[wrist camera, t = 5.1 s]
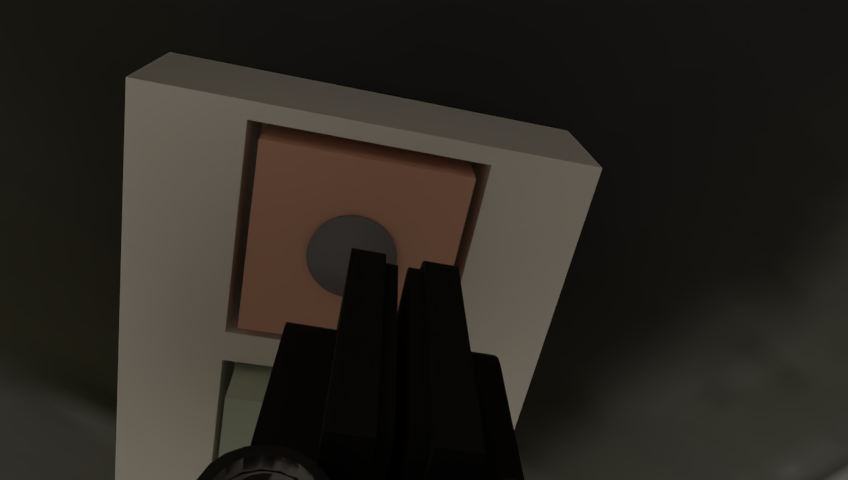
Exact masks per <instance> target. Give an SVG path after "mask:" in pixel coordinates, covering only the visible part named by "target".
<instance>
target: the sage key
mask: <svg viewBox="0 0 848 480" xmlns="http://www.w3.org/2000/svg"><path fill="white" fill-rule="evenodd" d="M272 368H273V367H271V366H263V365H256V364H249V363H241V362H237V364H236V367H235V370H234V372H233V375H232V378H231V381H230V384H229V387H228V390H227V393H226V396H225V402H224V411H223V420H222V429H221V439H220V448H219V457H221V456H222V455H224V454H225V453H227V452H230V451H233V450H236V449H239V448H242V447H245V446H250V445H251V441H252V438H253V434H254V431H255V427H256V424H257V420H258V417H259V413H260V410H261V406H262V403H263V399H264V396H265V392H266V389H267V385H268V382H269V378H270V375H271V371H272ZM219 457H218V458H219Z"/></svg>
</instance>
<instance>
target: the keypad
mask: <svg viewBox="0 0 848 480" xmlns="http://www.w3.org/2000/svg"><path fill="white" fill-rule="evenodd" d="M267 124H274V125H279V126H284V127H290V128H295V129H300V130H306V131H311V132H316V133H322V134H327V135H332V136H338V137H343V138H348V139H354V140H359V141H364V142H370V143H375V144H380V145H386V146H391V147H396V148H402V149H407V150H413V151H418V152H423V153H429V154H434V155H439V156H445V157H450V158H455V159H461V160H466V161H470V164H471V166H472V169H473V172H474V174H475V177H476V182H475V186H474V189H473V193H472V197H471V201H470V205H469V209H468V213H467V217H466V221H465V225H464V228H463V232H462V236H461V240H460V244H459V248H458V252H457V256H456V260H455V263H454V266H457V267H458V268H459V273H460V280H461V287H462V294H463V301H464V307H465V314H466V321H467V328H468V335H469V342H470V348H471V351H472V352H478V353H484V354H490V355H495V356H497V357H498V359H499V362H500V365H501V370H502V375H503V379H504V384H505V389H506V394H507V399H508V404H509V409H510V413H511V418H512V423H513V428H514V429H515V426H516V423H517V420H518V417H519V414H520V411H521V408H522V405H523V402H524V399H525V397H526V394H527V391H528V388H529V385H530V382H531V379H532V376H533V373H534V370H535V367H536V364H537V361H538V358H539V355H540V352H541V349H542V346H543V343H544V340H545V337H546V334H547V331H548V328H549V325H550V322H551V319H552V316H553V313H554V310H555V307H556V304H557V301H558V298H559V295H560V292H561V290H562V287H563V284H564V281H565V278H566V275H567V272H568V269H569V266H570V263H571V260H572V257H573V254H574V251H575V248H576V245H577V242H578V239H579V236H580V233H581V230H582V227H583V224H584V221H585V218H586V215H587V212H588V209H589V206H590V203H591V200H592V197H593V194H594V191H595V188H596V186H597V183H598V180H599V177H600V174H601V171H602V167H601V166H600V165H599V164H598V163H597V162H596V161H595V159H594V158H593V157H592V156H591V155H590V154H589V153H588V152H587V151H586V150H585V149H584V148H583V147H582V145H581V144H580V143H579V142H578V141H577V140H576V139H575V138H574V137H573V136H572V135H571V134H570V132H569V131H568V130H562V129H557V128H552V127H547V126H542V125H537V124H532V123H527V122H522V121H517V120H512V119H507V118H502V117H497V116H492V115H487V114H482V113H476V112H471V111H466V110H461V109H456V108H451V107H446V106H441V105H436V104H431V103H426V102H421V101H416V100H411V99H406V98H401V97H396V96H391V95H385V94H380V93H375V92H370V91H365V90H360V89H355V88H350V87H345V86H340V85H335V84H330V83H325V82H320V81H315V80H310V79H305V78H299V77H294V76H289V75H284V74H279V73H274V72H269V71H264V70H259V69H254V68H249V67H244V66H239V65H234V64H229V63H224V62H219V61H214V60H208V59H203V58H198V57H193V56H188V55H183V54H178V53H173V52H169V53H167V54H165V55H164V56H162V57H160V58H158V59H157V60H155V61H153V62H151V63H149V64H148V65H146V66H144V67H142V68H141V69H139V70H137V71H135V72H134V73H132V74H130V75H128V76H127V77H126V90H125V127H124V165H123V202H122V240H121V277H120V314H119V352H118V389H117V427H116V464H115V480H197V478H198V477H199V476H200V475H201V474H202V472H203V471H204V470H205V469H206V468H207V466H208V465H209V464H210V463H212V462H213V461H215V460H216V459H218V457H219V448H220V439H221V429H222V420H223V411H224V402H225V396H226V393H227V390H228V387H229V384H230V381H231V378H232V375H233V372H234V370H235V367H236V364H237V362H241V363H249V364H256V365H263V366H271V367H273V365H274V361H275V358H276V354H277V351H278V347H279V344H280V340H281V337H282V334H277V333H270V332H263V331H256V330H249V329H242V328H238V319H239V311H240V302H241V293H242V284H243V275H244V266H245V257H246V248H247V239H248V230H249V221H250V212H251V204H252V195H253V186H254V177H255V168H256V159H257V150H258V141H259V138H260V136H261V134H262V133H263V131H264V129H265V128H266V126H267Z"/></svg>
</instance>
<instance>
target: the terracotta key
mask: <svg viewBox="0 0 848 480" xmlns="http://www.w3.org/2000/svg"><path fill="white" fill-rule="evenodd" d="M475 182H476V177H475V174H474V172H473V169H472V166H471V164H470V161H466V160H461V159H455V158H450V157H445V156H439V155H434V154H429V153H423V152H418V151H413V150H407V149H402V148H396V147H391V146H386V145H380V144H375V143H370V142H364V141H359V140H354V139H348V138H343V137H338V136H332V135H327V134H322V133H316V132H311V131H306V130H300V129H295V128H290V127H284V126H279V125H274V124H267V126H266V128H265V129H264V131H263V133H262V134H261V136H260V138H259V141H258V150H257V159H256V168H255V177H254V186H253V195H252V204H251V212H250V221H249V230H248V239H247V248H246V257H245V266H244V275H243V284H242V293H241V302H240V311H239V319H238V328H242V329H249V330H256V331H263V332H270V333H277V334H282V333H283V330H284V327H285V324H286V322H291V323H297V324H304V325H310V326H316V327H322V328H328V329H335V330H336V329H337V324H338V319H339V313H340V308H341V302H342V297H343V292H344V286H345V281H346V275H347V270H348V265H349V259H350V254H351V249H352V248H355V249H361V250H366V251H372V252H378V253H384V254H386V263H388V264H393V265H398V307H399V303H400V299H401V294H402V290H403V286H404V281H405V277H406V273H407V270H408V268H409V267H411V268H416V269H420V267H421V265H422V262H423V261H429V262H435V263H440V264H446V265H452V266H454V263H455V260H456V256H457V252H458V248H459V244H460V240H461V236H462V232H463V228H464V225H465V221H466V217H467V213H468V209H469V205H470V201H471V197H472V193H473V189H474V186H475ZM397 312H398V310H397Z"/></svg>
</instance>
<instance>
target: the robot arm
mask: <svg viewBox="0 0 848 480" xmlns="http://www.w3.org/2000/svg"><path fill="white" fill-rule="evenodd" d="M397 310H398V312H397ZM197 480H524V476H523V472H522V467H521V462H520V457H519V452H518V447H517V442H516V438H515V433H514V428H513V423H512V418H511V413H510V409H509V404H508V399H507V394H506V389H505V384H504V379H503V375H502V370H501V365H500V362H499V359H498V357H497V356H495V355H490V354H484V353H478V352H472V351H471V348H470V342H469V335H468V328H467V321H466V314H465V307H464V301H463V294H462V287H461V280H460V273H459V268H458V267H457V266H452V265H446V264H440V263H435V262H429V261H423V262H422V265H421V267H420V269H416V268H411V267H409V268H408V270H407V273H406V277H405V281H404V286H403V290H402V294H401V299H400V303H399V307H398V265H393V264H388V263H386V254H384V253H378V252H372V251H366V250H361V249H355V248H352V249H351V254H350V259H349V265H348V270H347V275H346V281H345V286H344V292H343V297H342V302H341V308H340V313H339V319H338V324H337V329H336V330H335V329H328V328H322V327H316V326H310V325H304V324H297V323H291V322H286V324H285V327H284V330H283V333H282V337H281V340H280V344H279V347H278V351H277V354H276V358H275V361H274V365H273V368H272V371H271V375H270V378H269V382H268V385H267V389H266V392H265V396H264V399H263V403H262V406H261V410H260V413H259V417H258V420H257V424H256V427H255V431H254V434H253V438H252V441H251V445H250V446H245V447H242V448H239V449H236V450H233V451H230V452H227V453H225V454H224V455H222V456H221V457H219V458H218V459H216V460H215V461H213V462H212V463H210V464H209V465H208V466H207V468H206V469H205V470H204V471H203V472H202V474H201V475H200V476H199V477H198V478H197Z"/></svg>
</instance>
